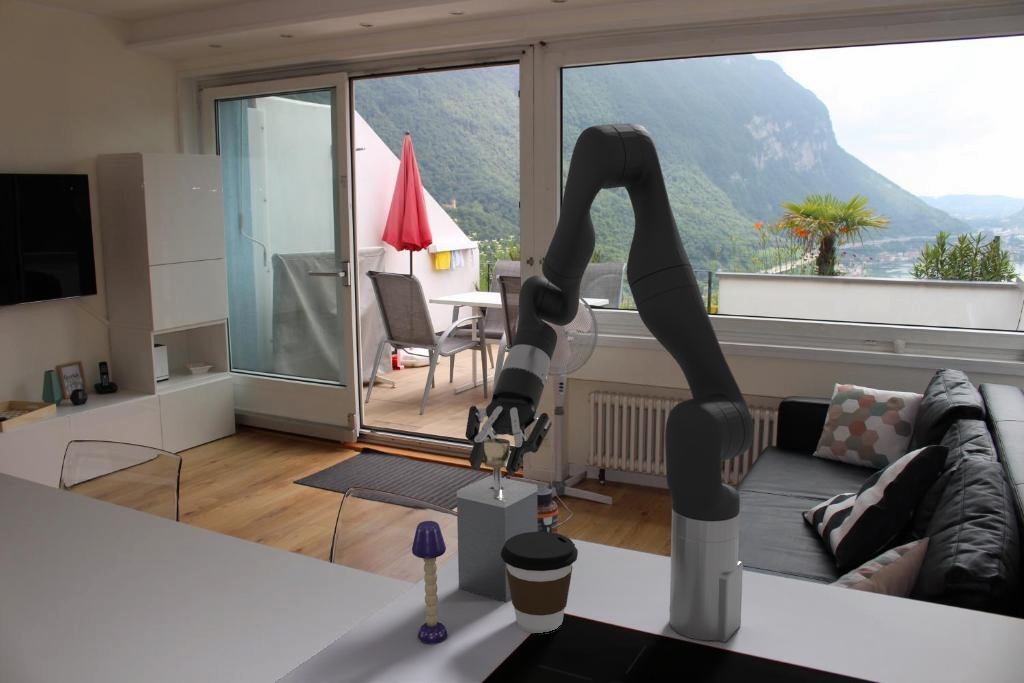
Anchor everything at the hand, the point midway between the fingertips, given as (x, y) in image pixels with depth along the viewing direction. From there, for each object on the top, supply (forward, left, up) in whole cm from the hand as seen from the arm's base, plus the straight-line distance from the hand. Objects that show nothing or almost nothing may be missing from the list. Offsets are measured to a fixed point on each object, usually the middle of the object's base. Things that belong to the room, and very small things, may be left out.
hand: (492, 469), depth 131 cm
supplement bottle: (+1, -16, -20) cm, 25 cm away
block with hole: (0, -2, -19) cm, 20 cm away
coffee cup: (-12, +5, -20) cm, 24 cm away
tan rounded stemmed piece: (0, -2, -14) cm, 14 cm away
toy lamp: (-1, +17, -20) cm, 26 cm away
